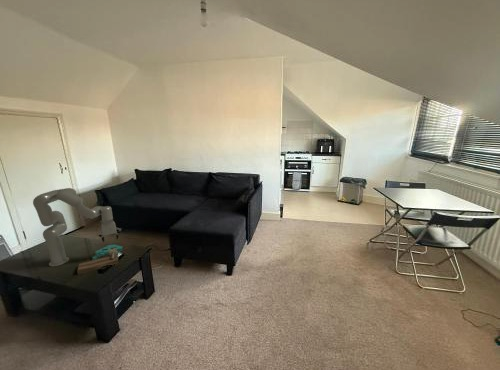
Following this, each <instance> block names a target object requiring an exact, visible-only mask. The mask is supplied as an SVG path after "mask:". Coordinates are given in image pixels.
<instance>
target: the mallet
mask: <svg viewBox="0 0 500 370" xmlns="http://www.w3.org/2000/svg"><path fill="white" fill-rule="evenodd" d="M108 254H109V256H111V255H112V259H113V260H114V255H115V254H117V250H116V248H113V249H109V253H108Z"/></svg>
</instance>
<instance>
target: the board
mask: <svg viewBox="0 0 500 370" xmlns="http://www.w3.org/2000/svg"><path fill="white" fill-rule="evenodd" d="M117 263H118V264H119V255H118V254H115V255H114V260H113V259H112V255H111V256H110V255H108V256H103V257H99V258H96V259H94V260H93V259H92V260H87V261H83V262H79V264H78V266H77V271H76V272H77V275H81V274H85V273H89V272H92V271H96V270H100V269H99V268H101V267H103V266H106V265H112V266H115V265H118V264H117ZM114 264H115V265H114ZM101 269H102V268H101Z"/></svg>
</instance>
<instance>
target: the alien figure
mask: <svg viewBox="0 0 500 370" xmlns="http://www.w3.org/2000/svg"><path fill="white" fill-rule="evenodd" d="M113 248H116V250H117V254H118V253H120V254H121V250H122V249H123V246H122V245H118V244H110V245H109V244H108V245H106V246H104V247H103V248H100V249H99V250H98V249H97V250H96V251H95V253H94V254H95V255H94V256H92V260H95V259H99V258H101V257H102V256H103V257H104V255H106V254H110V253H109V249H113Z"/></svg>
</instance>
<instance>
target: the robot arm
mask: <svg viewBox="0 0 500 370" xmlns="http://www.w3.org/2000/svg"><path fill="white" fill-rule="evenodd" d="M57 201H60V202H61V201H62V202H63V203H65V204H67V205H69V206H71V207H74V208H75V210H76V212H77V213H78V214H80V215H81V216H83V217H85V218H87V219H91V220H92V219H95V218H98V217H99V216H101V220H100V221H99V223H101V229H100V230H99V231H97V233H96V235H97V236H98V237H100V238H101V240H102V242H103V243H105V236H109V235H114V234H115V236H116V237H115V238H116V240H118V239H119V234H120V233H121V232H122V228H119V227H117V225H116V222H115V221H114V217H113V211H112V210H113V209H112V207H111V206H109V205H107V206H102V205H97V206H94V207H92V208H89V207H88V206H86V205H84V203H83V202H84V198H83V197H81V196H79V195H77V191H76V190H75V189H74V188H71V187H68V188H67V187H65V188H59V189H54V190H53V189H52V190H51V191H46V192H43V193H40V194H39V195H37V196H36V197H34V198H33V199H32V205H33V207H34V209H35V211H36V213H37V216H38V218H39V221H40V224H41V226H44V227H47V228H46V229H44V230H43V232H42V238H43V239H44V241H45V243H46V247H47V250H48V254H49V255H48V256H49V259H50V261H49V263H48V265H49V266H50V267H58V266H61V265H63V264H66V263H68V261H70V257H68V256H67V255H66V250H65V246H64V241H63V240H62V237H60V236H61V235H62V234H64V233H65V232H66V231H68V224H67V223H66V222H67V221H66V219H65V217H64V214H63V213H62V212H61V211H59V210H53V208H52V207H51V205H49V204H51V203H54V202H57ZM117 230H118V231H117Z"/></svg>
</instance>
